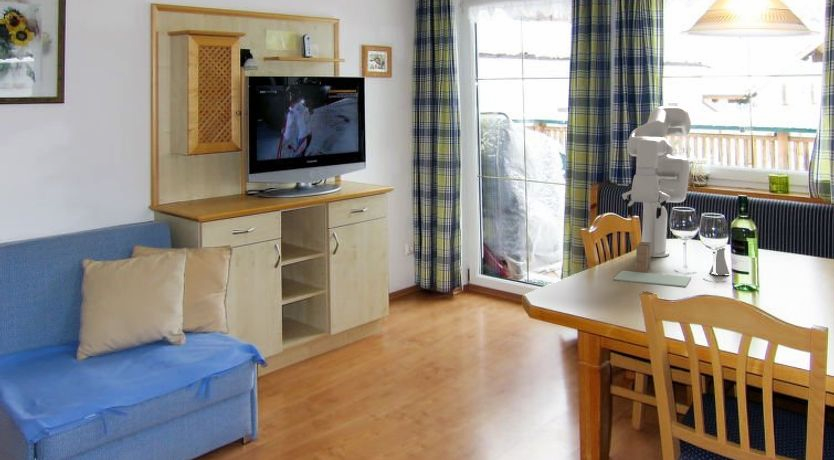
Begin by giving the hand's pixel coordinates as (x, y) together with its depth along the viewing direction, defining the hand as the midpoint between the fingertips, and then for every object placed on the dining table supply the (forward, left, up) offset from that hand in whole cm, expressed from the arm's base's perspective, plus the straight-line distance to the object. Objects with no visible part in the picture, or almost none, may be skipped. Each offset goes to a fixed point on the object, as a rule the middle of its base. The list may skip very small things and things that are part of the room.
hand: (644, 217), depth 287 cm
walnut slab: (0, 0, -21) cm, 21 cm away
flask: (-4, +27, -21) cm, 34 cm away
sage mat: (+13, +6, -21) cm, 25 cm away
